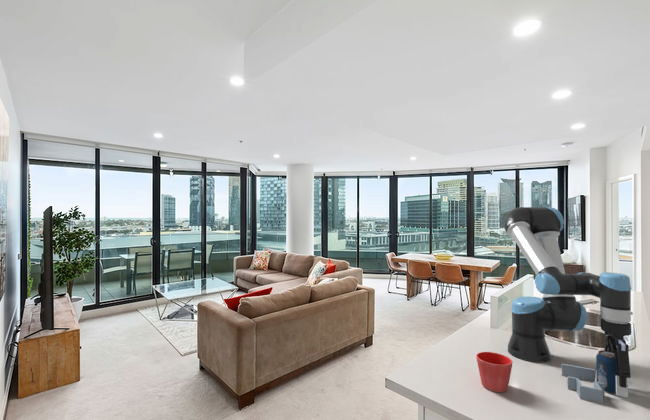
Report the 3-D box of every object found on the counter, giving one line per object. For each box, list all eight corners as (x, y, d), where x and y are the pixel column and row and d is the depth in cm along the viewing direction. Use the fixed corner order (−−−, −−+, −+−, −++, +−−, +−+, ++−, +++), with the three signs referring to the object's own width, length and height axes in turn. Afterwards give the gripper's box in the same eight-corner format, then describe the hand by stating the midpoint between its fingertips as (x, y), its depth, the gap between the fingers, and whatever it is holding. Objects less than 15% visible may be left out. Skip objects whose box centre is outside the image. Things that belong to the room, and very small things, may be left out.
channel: (571, 396, 102) (571, 384, 102) (561, 374, 117) (561, 363, 117) (609, 405, 98) (609, 391, 98) (594, 380, 112) (594, 369, 112)
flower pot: (480, 375, 116) (480, 348, 116) (515, 385, 109) (514, 356, 110) (472, 387, 108) (472, 358, 108) (509, 399, 101) (509, 368, 101)
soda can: (625, 390, 106) (624, 353, 106) (623, 398, 101) (623, 360, 102) (598, 382, 111) (597, 347, 111) (595, 389, 106) (594, 353, 107)
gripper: (644, 332, 95) (646, 409, 94) (618, 313, 114) (620, 377, 113) (611, 328, 98) (613, 402, 98) (592, 310, 117) (593, 372, 117)
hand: (616, 388), depth 105 cm, fingers open, 9 cm apart
